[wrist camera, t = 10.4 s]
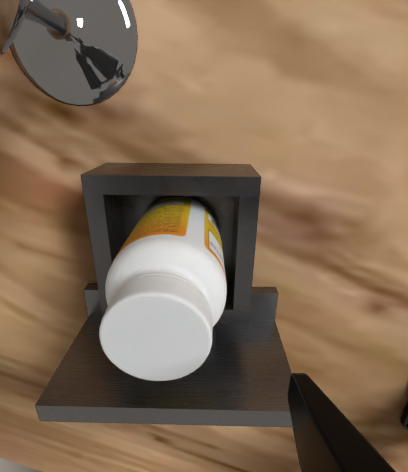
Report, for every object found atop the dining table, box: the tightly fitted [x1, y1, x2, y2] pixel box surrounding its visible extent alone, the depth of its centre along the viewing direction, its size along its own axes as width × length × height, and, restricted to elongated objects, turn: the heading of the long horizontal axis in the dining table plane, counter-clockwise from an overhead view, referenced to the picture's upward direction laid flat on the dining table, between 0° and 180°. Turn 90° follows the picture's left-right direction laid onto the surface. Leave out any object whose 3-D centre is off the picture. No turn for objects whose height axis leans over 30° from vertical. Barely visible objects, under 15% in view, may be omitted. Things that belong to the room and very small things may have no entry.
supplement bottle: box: [99, 197, 227, 381], centre depth 14 cm, size 5×5×10 cm
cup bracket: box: [35, 163, 293, 427], centre depth 17 cm, size 12×14×8 cm
